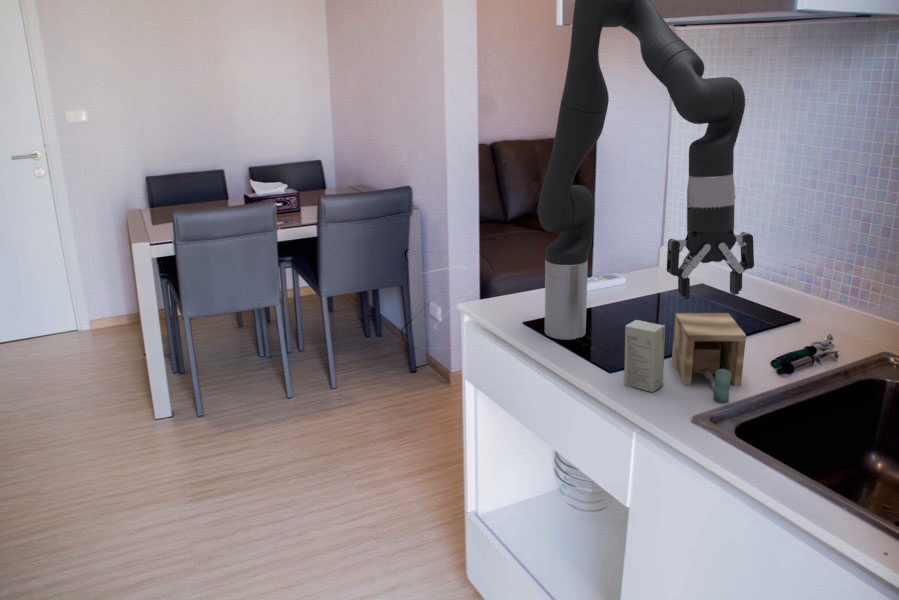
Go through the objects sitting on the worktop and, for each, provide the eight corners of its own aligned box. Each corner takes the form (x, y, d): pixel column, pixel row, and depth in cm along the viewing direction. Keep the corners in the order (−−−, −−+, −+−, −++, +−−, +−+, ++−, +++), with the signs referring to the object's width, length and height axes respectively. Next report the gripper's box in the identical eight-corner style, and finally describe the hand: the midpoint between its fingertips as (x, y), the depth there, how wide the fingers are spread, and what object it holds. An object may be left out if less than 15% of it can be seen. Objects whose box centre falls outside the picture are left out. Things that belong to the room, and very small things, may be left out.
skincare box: (663, 385, 142) (667, 325, 138) (652, 393, 139) (656, 332, 135) (633, 376, 146) (636, 318, 142) (621, 384, 143) (624, 324, 139)
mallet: (686, 362, 151) (689, 337, 150) (712, 363, 151) (714, 337, 149) (708, 402, 135) (710, 375, 133) (736, 403, 134) (739, 375, 132)
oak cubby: (671, 359, 153) (675, 313, 150) (724, 360, 152) (728, 313, 149) (684, 385, 142) (688, 335, 138) (740, 385, 141) (746, 335, 138)
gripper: (742, 196, 128) (741, 287, 132) (661, 203, 128) (661, 294, 132) (762, 201, 121) (760, 297, 125) (676, 208, 121) (676, 305, 125)
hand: (709, 295), depth 129 cm, fingers open, 8 cm apart
